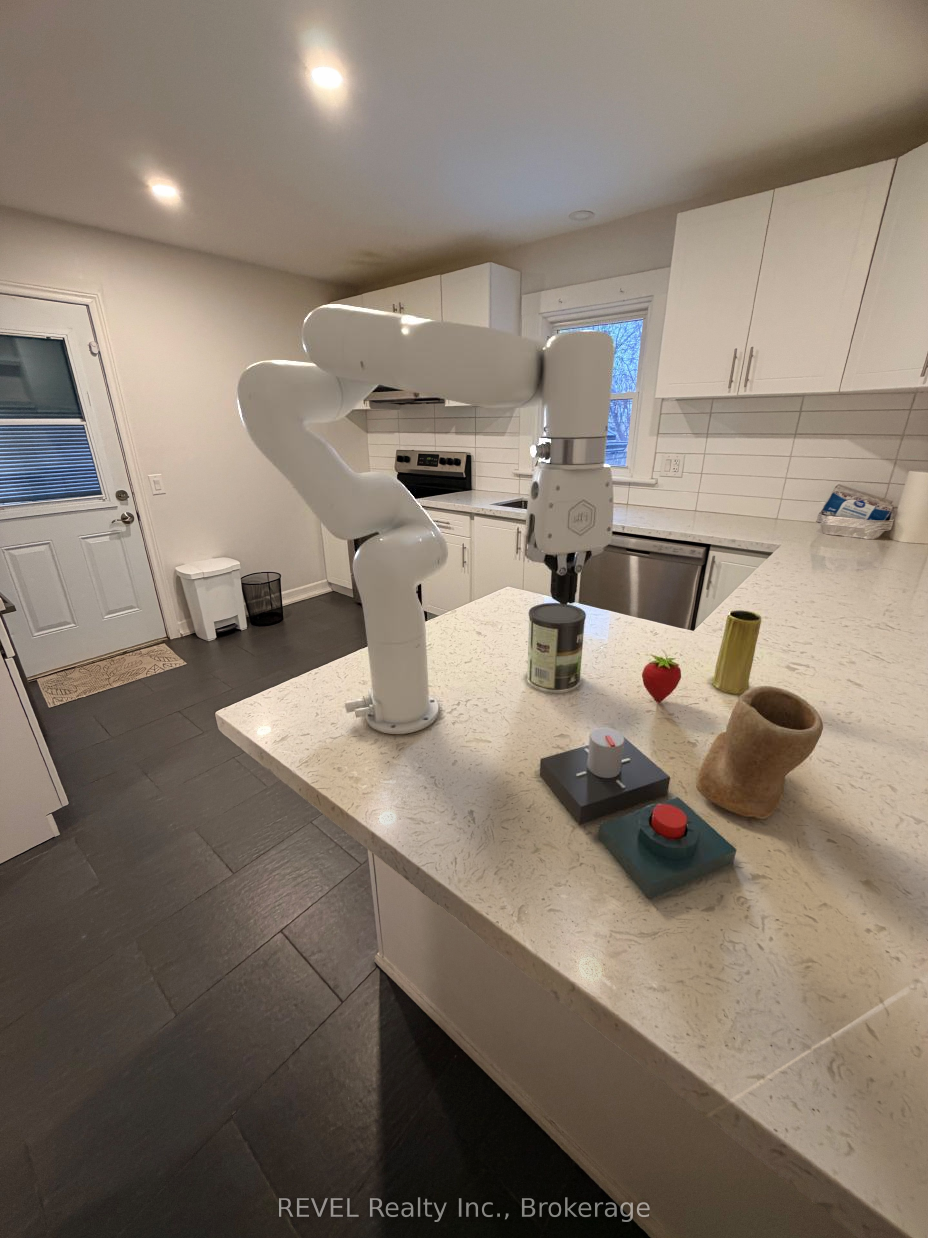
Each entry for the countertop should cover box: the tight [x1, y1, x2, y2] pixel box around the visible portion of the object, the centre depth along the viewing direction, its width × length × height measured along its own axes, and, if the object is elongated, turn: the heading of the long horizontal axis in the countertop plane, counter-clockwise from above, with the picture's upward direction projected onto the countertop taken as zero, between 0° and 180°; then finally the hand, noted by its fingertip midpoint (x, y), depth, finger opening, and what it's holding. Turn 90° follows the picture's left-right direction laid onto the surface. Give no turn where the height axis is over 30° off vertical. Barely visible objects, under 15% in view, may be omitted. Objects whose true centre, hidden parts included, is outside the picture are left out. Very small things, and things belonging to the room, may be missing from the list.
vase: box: [711, 609, 763, 695], centre depth 90 cm, size 6×6×14 cm
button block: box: [597, 796, 737, 900], centre depth 57 cm, size 12×9×4 cm
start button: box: [651, 804, 687, 839], centre depth 56 cm, size 4×4×2 cm
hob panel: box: [539, 736, 671, 826], centre depth 68 cm, size 14×10×3 cm
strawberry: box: [641, 650, 682, 703], centre depth 86 cm, size 6×8×10 cm
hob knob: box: [587, 726, 624, 778], centre depth 66 cm, size 4×4×5 cm
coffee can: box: [526, 602, 587, 694], centre depth 93 cm, size 10×10×14 cm
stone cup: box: [695, 685, 824, 820], centre depth 65 cm, size 15×12×15 cm
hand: (562, 600), depth 65 cm, fingers closed
